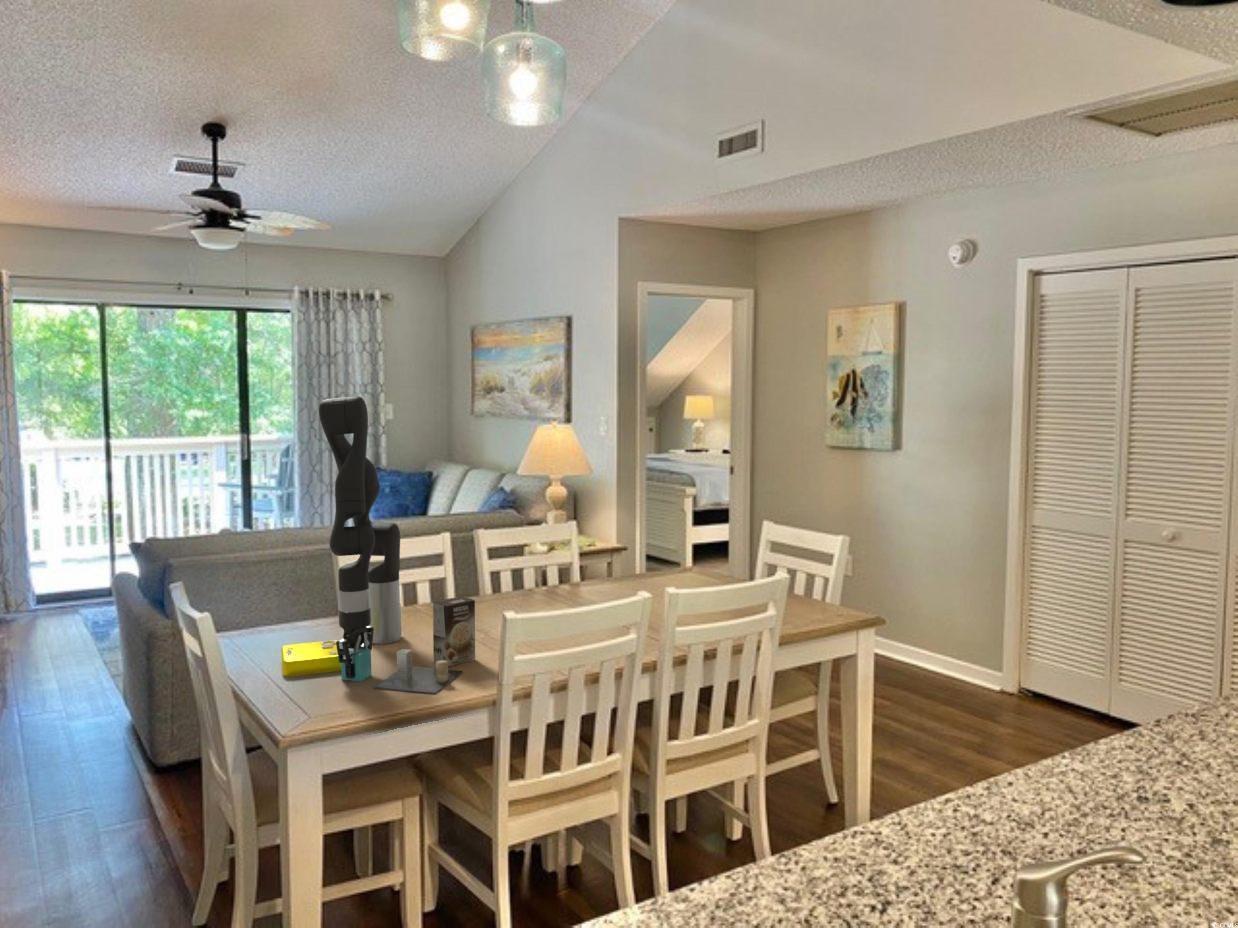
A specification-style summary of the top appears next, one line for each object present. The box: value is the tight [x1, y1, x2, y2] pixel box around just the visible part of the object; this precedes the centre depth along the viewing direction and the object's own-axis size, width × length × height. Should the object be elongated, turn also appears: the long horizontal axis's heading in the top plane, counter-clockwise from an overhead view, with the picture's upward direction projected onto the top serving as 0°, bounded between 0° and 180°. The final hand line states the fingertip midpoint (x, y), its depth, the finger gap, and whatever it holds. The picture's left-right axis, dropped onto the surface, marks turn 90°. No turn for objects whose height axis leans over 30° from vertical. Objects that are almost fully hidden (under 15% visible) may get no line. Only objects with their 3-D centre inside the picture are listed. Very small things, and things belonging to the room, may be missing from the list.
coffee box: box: [432, 596, 476, 667], centre depth 237 cm, size 9×6×16 cm
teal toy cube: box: [340, 648, 372, 682], centre depth 225 cm, size 5×5×7 cm
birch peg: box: [435, 661, 449, 683], centre depth 222 cm, size 3×3×5 cm
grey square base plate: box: [373, 648, 464, 695], centre depth 223 cm, size 16×16×7 cm
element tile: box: [280, 639, 341, 678], centre depth 235 cm, size 15×15×5 cm
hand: (356, 673), depth 225 cm, fingers closed on teal toy cube, 5 cm apart
